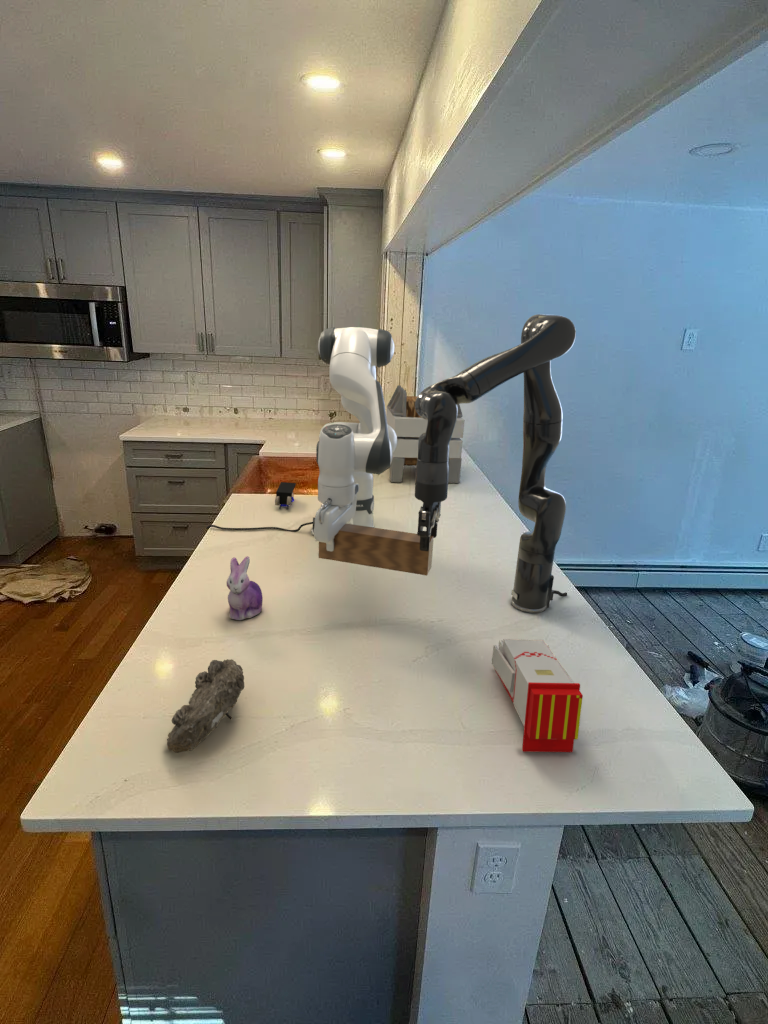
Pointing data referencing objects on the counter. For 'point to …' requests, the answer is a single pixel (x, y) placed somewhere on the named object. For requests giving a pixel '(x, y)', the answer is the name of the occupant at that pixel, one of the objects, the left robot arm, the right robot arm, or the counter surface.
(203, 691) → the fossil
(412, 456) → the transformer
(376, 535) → the bar
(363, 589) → the counter surface
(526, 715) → the toy
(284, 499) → the figurine character
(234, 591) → the figurine
